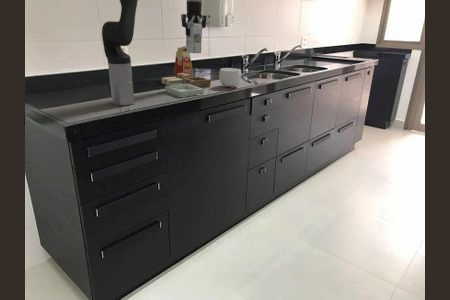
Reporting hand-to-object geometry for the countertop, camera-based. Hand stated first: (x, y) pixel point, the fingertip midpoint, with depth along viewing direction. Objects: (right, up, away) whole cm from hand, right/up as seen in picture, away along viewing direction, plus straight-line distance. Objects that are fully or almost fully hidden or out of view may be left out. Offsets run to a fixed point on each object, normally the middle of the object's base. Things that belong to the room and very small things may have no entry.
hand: (193, 36), depth 164 cm
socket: (0, -23, +14) cm, 27 cm away
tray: (-5, -30, -4) cm, 31 cm away
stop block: (-8, -20, +22) cm, 30 cm away
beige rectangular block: (-14, -22, +17) cm, 31 cm away
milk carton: (-10, -15, +32) cm, 37 cm away
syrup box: (0, -8, +3) cm, 8 cm away
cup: (+19, -24, +14) cm, 33 cm away
